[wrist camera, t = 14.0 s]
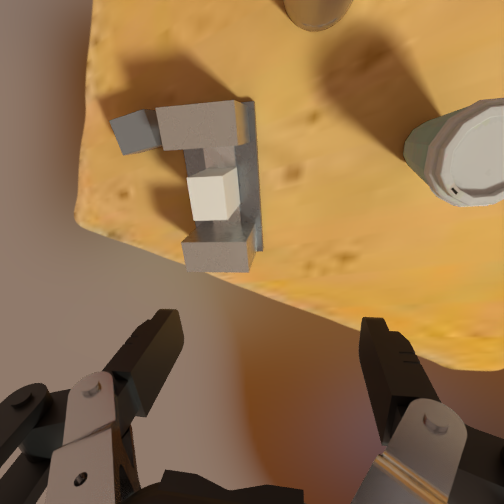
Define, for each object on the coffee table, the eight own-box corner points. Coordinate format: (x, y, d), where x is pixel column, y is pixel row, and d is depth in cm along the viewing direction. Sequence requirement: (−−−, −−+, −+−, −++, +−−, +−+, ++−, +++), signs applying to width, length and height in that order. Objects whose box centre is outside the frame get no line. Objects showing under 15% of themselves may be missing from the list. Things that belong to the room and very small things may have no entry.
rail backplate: (179, 109, 42) (146, 103, 33) (254, 101, 40) (241, 94, 31) (201, 249, 52) (181, 274, 43) (263, 249, 50) (255, 275, 41)
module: (205, 168, 44) (184, 177, 36) (236, 167, 43) (222, 175, 35) (210, 204, 46) (192, 220, 38) (240, 203, 46) (227, 220, 37)
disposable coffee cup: (438, 87, 36) (521, 63, 23) (486, 143, 38) (591, 152, 24) (372, 151, 40) (410, 162, 27) (419, 199, 42) (476, 232, 29)
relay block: (127, 121, 44) (107, 121, 40) (160, 111, 43) (143, 109, 38) (139, 153, 46) (121, 155, 42) (171, 143, 45) (156, 145, 40)
